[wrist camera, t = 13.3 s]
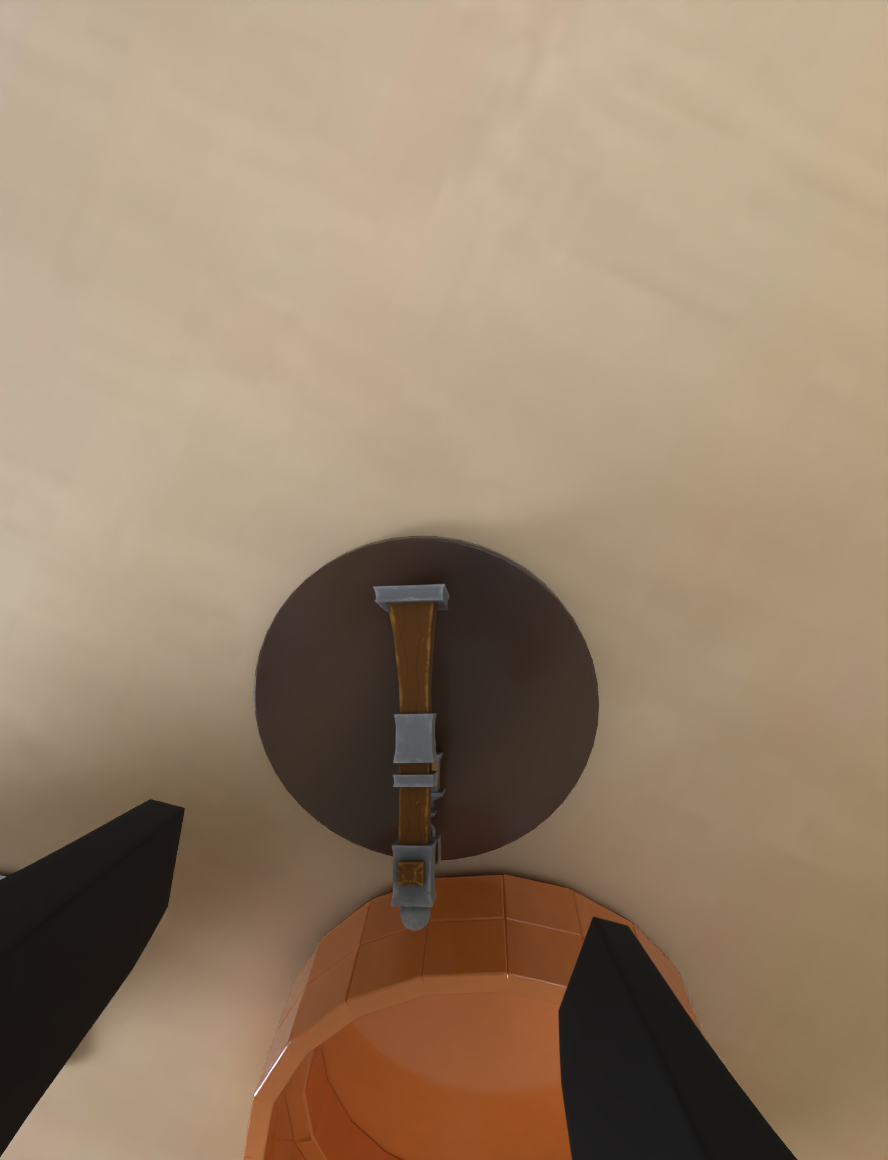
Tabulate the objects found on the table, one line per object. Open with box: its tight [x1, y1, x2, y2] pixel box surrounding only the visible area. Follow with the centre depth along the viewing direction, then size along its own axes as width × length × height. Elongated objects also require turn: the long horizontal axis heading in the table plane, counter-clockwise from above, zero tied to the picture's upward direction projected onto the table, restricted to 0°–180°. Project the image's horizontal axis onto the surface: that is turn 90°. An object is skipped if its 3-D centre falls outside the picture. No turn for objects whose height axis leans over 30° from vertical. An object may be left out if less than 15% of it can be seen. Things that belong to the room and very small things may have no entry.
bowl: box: [244, 874, 708, 1160], centre depth 18 cm, size 14×14×4 cm
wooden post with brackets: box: [373, 584, 450, 931], centre depth 16 cm, size 2×8×4 cm, turn 3°
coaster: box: [254, 536, 599, 860], centre depth 18 cm, size 10×10×1 cm
